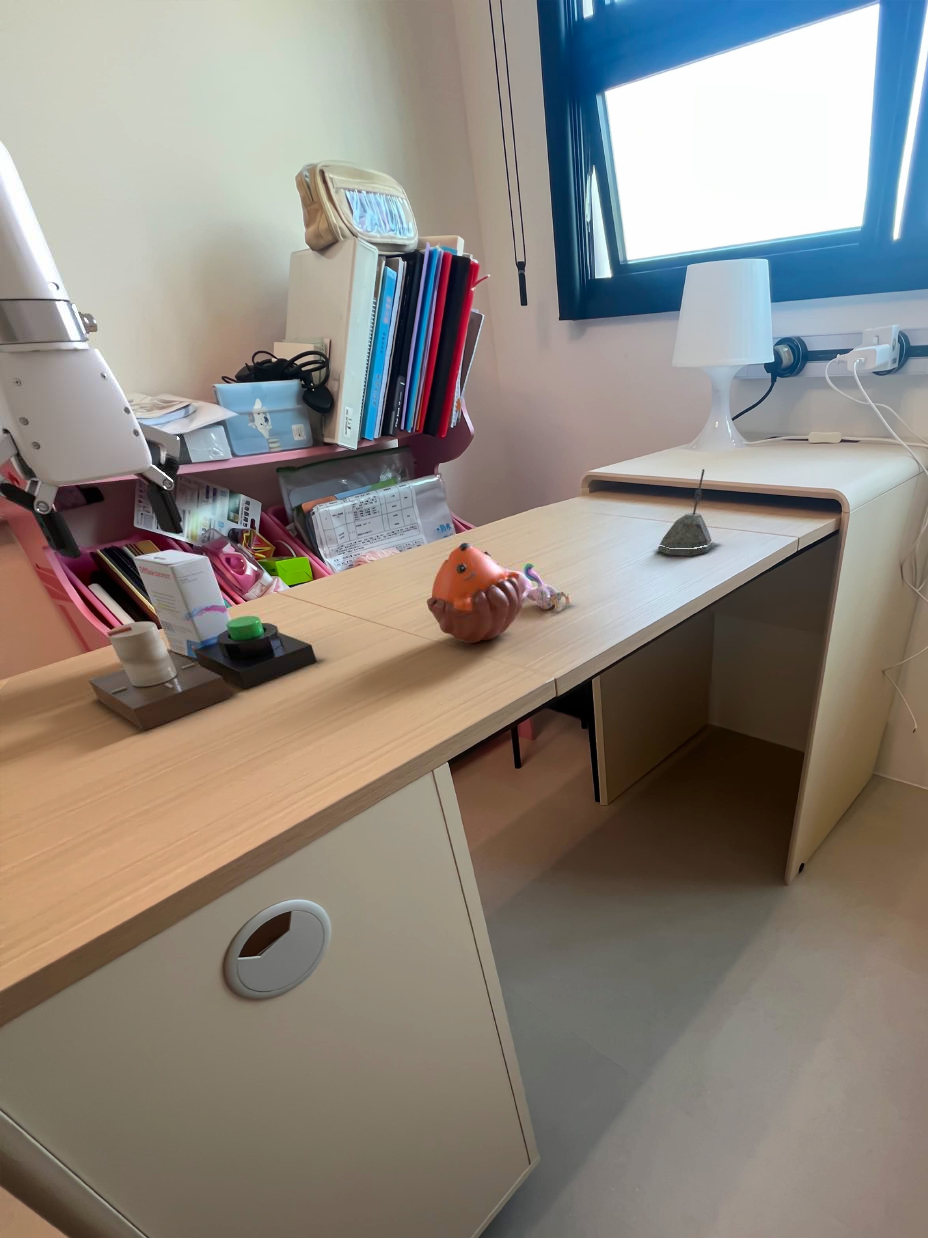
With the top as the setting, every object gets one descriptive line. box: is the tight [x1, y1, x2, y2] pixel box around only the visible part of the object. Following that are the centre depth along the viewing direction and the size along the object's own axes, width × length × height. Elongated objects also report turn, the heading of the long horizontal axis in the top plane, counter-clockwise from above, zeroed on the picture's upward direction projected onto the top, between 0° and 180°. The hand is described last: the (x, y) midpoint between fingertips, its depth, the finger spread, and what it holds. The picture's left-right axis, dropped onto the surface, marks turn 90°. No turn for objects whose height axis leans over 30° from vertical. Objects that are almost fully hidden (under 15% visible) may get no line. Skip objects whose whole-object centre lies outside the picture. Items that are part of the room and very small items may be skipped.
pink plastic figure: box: [502, 563, 571, 613], centre depth 92 cm, size 6×6×15 cm
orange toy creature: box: [426, 542, 523, 644], centre depth 79 cm, size 12×10×11 cm
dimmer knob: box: [106, 621, 177, 687], centre depth 68 cm, size 4×4×6 cm
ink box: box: [133, 549, 232, 660], centre depth 79 cm, size 9×5×12 cm, turn 58°
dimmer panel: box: [88, 652, 231, 731], centre depth 71 cm, size 12×9×3 cm
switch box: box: [194, 622, 317, 690], centre depth 77 cm, size 11×9×4 cm
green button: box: [226, 615, 264, 640], centre depth 76 cm, size 4×4×2 cm
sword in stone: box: [657, 468, 717, 557], centre depth 109 cm, size 10×8×12 cm
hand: (124, 543), depth 64 cm, fingers open, 9 cm apart
